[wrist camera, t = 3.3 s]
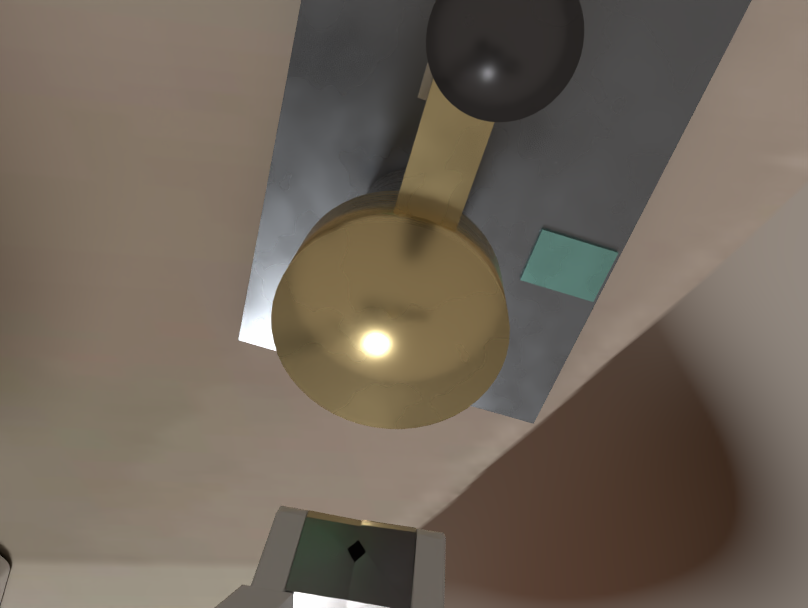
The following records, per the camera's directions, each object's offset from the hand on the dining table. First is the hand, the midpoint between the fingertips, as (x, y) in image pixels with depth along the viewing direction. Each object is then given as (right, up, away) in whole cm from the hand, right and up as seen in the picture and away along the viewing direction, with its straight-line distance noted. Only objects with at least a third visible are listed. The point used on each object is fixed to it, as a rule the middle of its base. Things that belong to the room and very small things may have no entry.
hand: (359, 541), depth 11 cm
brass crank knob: (+1, +7, +8) cm, 11 cm away
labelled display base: (+3, +10, +16) cm, 19 cm away
